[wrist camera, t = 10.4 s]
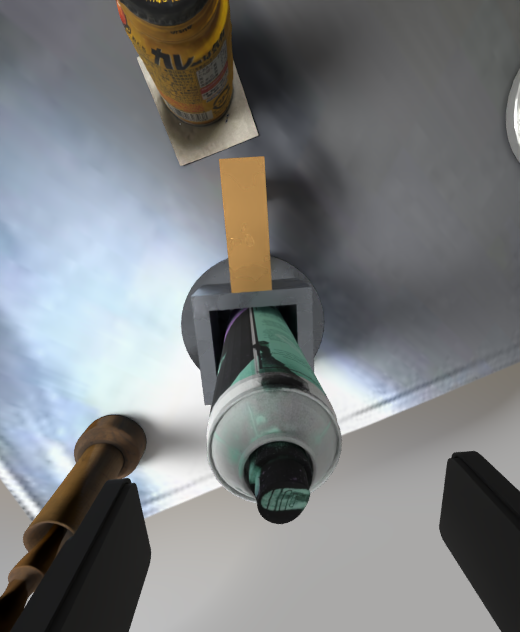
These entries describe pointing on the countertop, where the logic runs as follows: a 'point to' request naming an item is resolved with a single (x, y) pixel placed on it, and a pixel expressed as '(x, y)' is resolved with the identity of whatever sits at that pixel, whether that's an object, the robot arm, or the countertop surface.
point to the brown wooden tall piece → (72, 504)
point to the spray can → (269, 418)
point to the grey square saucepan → (247, 277)
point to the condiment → (190, 72)
